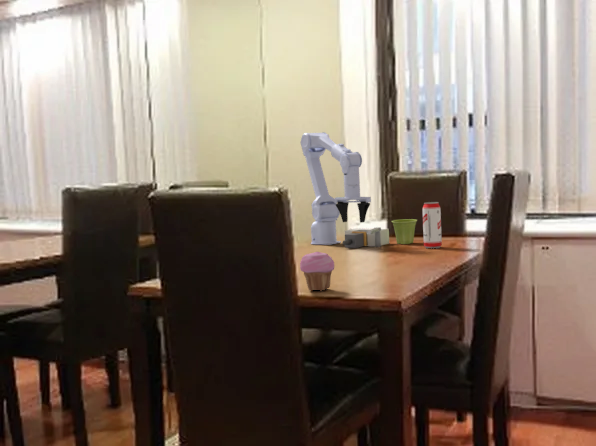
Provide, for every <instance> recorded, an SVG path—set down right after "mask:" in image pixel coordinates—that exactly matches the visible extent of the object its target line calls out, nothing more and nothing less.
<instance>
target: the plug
mask: <svg viewBox="0 0 596 446" xmlns="http://www.w3.org/2000/svg"><path fill="white" fill-rule="evenodd" d="M342 245H343V246H344V248H346V249H347V248H350V249H357V248H361V247H367V246H368V240H367V231H360V232H355V231H353V232H352V233H350V234H345V233H344V240H342Z"/></svg>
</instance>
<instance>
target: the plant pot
mask: <svg viewBox="0 0 596 446" xmlns="http://www.w3.org/2000/svg"><path fill="white" fill-rule="evenodd" d="M417 222H418V219H413V218H411V219H410V218H409V219H406V218H405V219H403V218H402V219H393V220H391V223H392V225H393V229H394V234H395V240H396V243H397V245H400V244H401V245H410V244H413V243H414V238H415V230H416V229H415V228H416V225H417Z"/></svg>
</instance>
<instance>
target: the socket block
mask: <svg viewBox="0 0 596 446" xmlns="http://www.w3.org/2000/svg"><path fill="white" fill-rule="evenodd" d="M374 228H375V227H374ZM374 228H369V227H368V228H367V227H366V228H363V227H362V228H361V227H357V228H352V229H351V228H350V229H346V230H344V235H345V234H350V233H352V232H353V231H355V232H360V231H369V230H371V229H374ZM389 229H390V228H381V231H377V232H375V233H373V234H367V240H368V245H367V246H368V247H375V248H381V247H382V246H384V245H389V244H390V231H389Z"/></svg>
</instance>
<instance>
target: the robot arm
mask: <svg viewBox="0 0 596 446" xmlns="http://www.w3.org/2000/svg"><path fill="white" fill-rule="evenodd" d="M300 138H301V139H300V148H301V151H302V154H303V156H304V158H305V161H306V162H305V163H306V165H307V169H308V170H307V171H308V173H309V177H310V180H311V184H312V187H313V191H314V196H315V199H314V200H313V201H312V203H311V214H312V218H313V219H314V221H313V222H312V223H311V225H310V234H311V237H310V238H311V242H310V244H311V245H326V246H327V245H328V246H330V245H335V244H339V243H342V241H341V240H337V224H336V223H337V222H336V221H338V218H339V217H340V216H341V219H342V223H347V222H348V208H349V203H356V205H357V208H358V213H359V214H358V215H359V222H360V223H366V222H365V221H366V215H367V213H368V209H369V207H370V205H371V203H372V199H371V196H361V187H360V186H361V185H360V183H361V182H360V167H361V166H362V164H363V158H362V154H360V153H359V151H351V149H350V148H347V147H346V146H345V144H344V143H336V142H334V141H333V139H331V138H330V135H329V133H328V134H327V132H325V131H322V132H304V133H303V134H302V135H301V137H300ZM326 150H327V151H329V152H330V154H331V157H332V158H333V159H335V160H336V161H337V162H339V165H340V167H341V171H342V174H343V186H344V189H343V190H344V196H342V197H341V196H340V197H338V196H337V197H333V196H331V195H330V194H329V189H328V186H327V183H326V178H325V175H324V171H323V167H322V164H321V161H320V157H321V156H323V155H324V153H325V151H326Z"/></svg>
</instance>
